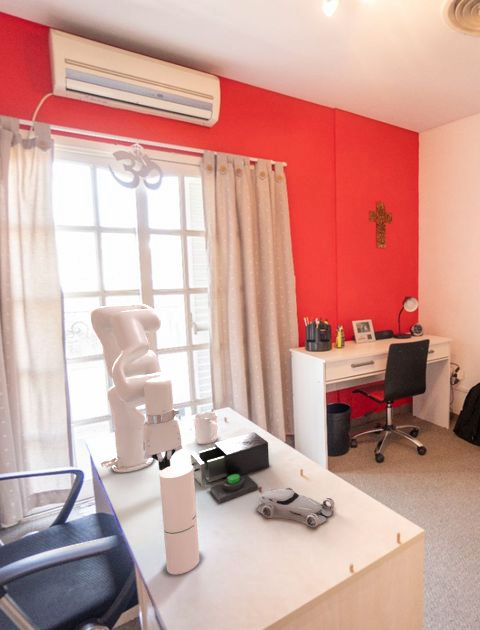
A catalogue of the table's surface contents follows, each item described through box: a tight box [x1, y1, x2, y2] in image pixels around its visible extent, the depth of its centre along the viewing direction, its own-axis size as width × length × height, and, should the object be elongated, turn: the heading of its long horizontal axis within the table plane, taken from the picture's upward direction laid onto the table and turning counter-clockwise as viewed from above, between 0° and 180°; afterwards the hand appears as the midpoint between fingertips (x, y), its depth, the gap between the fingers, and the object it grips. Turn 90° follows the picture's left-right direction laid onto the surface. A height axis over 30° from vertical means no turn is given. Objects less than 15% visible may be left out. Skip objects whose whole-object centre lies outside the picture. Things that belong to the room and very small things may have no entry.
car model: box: [256, 487, 335, 528], centre depth 127 cm, size 11×24×5 cm, turn 71°
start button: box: [228, 474, 240, 484], centre depth 138 cm, size 4×4×2 cm
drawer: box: [190, 446, 227, 487], centre depth 146 cm, size 18×11×8 cm, turn 134°
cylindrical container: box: [158, 462, 200, 575], centre depth 103 cm, size 7×7×25 cm
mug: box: [193, 411, 220, 445], centre depth 175 cm, size 12×9×11 cm
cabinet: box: [214, 431, 270, 479], centre depth 153 cm, size 15×13×10 cm
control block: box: [210, 474, 259, 504], centre depth 138 cm, size 12×9×4 cm
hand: (165, 470), depth 136 cm, fingers closed
